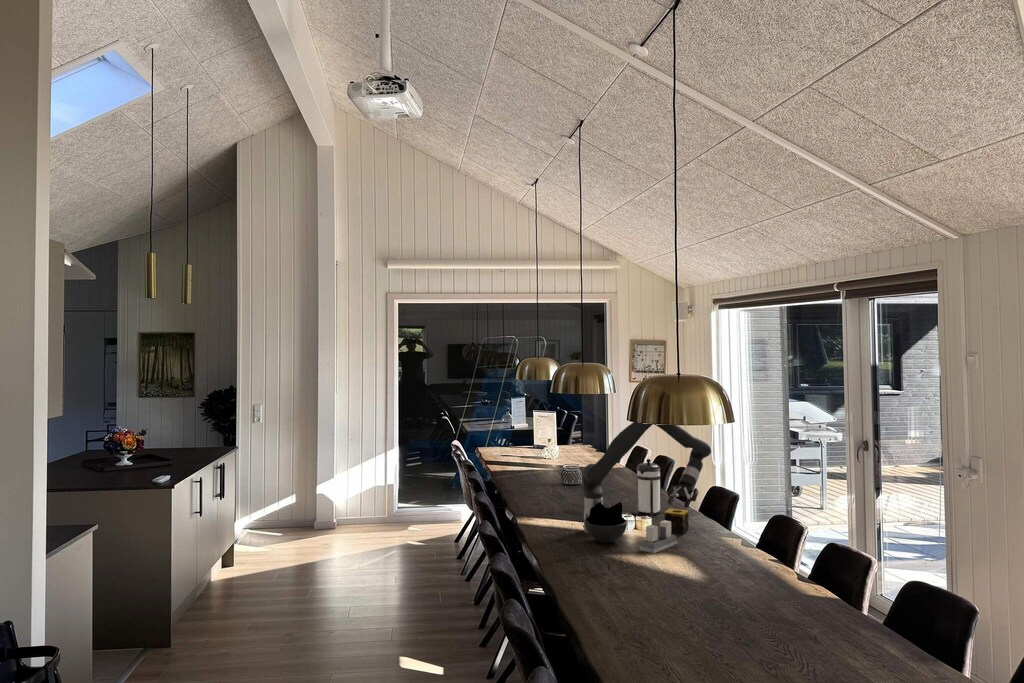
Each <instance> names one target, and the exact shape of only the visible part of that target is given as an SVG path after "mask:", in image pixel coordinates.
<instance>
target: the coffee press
mask: <svg viewBox="0 0 1024 683" xmlns="http://www.w3.org/2000/svg"><path fill="white" fill-rule="evenodd" d="M636 471H637V472H636V473H637V476H636V478H637V480H636V482H637V483H636V484H637V485H636V486H637V488H636V491H637V494H636V496H637V497H636V498H637V502H636V504H637V505H636V506H637V508H636V509H635V511H634V512H635V514H636V515H638V514H639V513H646V514H650V517H651V516H652V517H654V513H660V514H663V510H662V509H661V497H662V476H661V472H660V471H661V468H660V465H658V464H657V463H654V462H651V459H650V458H647V459H646V462H641V463H639V464H638V465H637V467H636ZM652 517H651V518H652Z"/></svg>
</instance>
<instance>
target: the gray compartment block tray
mask: <svg viewBox="0 0 1024 683" xmlns="http://www.w3.org/2000/svg"><path fill="white" fill-rule="evenodd" d="M658 528H659V527H658V525H654V524H649V525H646V526H645V539H643V540H641V541H640V546H639V551H642V552H647V553H651V554H657V553H658V552H660V551H664V550H665V549H669V548H671V547H673V545H674V546H675V544H676V545H678V540H677V535H676V534H671V537H669V538H663V537H660V533H659V530H658ZM658 533H659V534H658Z"/></svg>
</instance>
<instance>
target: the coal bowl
mask: <svg viewBox="0 0 1024 683" xmlns="http://www.w3.org/2000/svg"><path fill="white" fill-rule="evenodd" d="M584 524H585V528H586V530H587V532H588V533H587V534H588V535H589V536H590V538H593V540H595V541H596V542H599V543H603V544H604V543H605V544H609V543H613V542H615V541H618V540H619V539H620V538H622V536H623V535H624V534H625V532H626V529H627V526H628V521H627V519H625V518H623V504H622V502H621V501H619V502H617V503H615V504H613V505H612V506H610V507H606V506H604V503H603V504H602V503H601V502H599V503H597V504H596V505H595V506H594V507H592V508H591V509H590V515H589V517H588V518H586V519H585V520H584V519H583V525H584Z"/></svg>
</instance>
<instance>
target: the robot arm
mask: <svg viewBox="0 0 1024 683" xmlns="http://www.w3.org/2000/svg"><path fill="white" fill-rule="evenodd" d="M653 425H655V427H657V428H659V429H661V431H664V433H666V434H667V435H669V436H670V437H671V438H672V439H673V440H674V441H676V443H678V444H680V445H681V446H682V447H683V448H685V449H691V451H690V453H689V457H688V458H689V459H688V463H687V464H686V467H685V469H684V470H683V471H682V474H681V477H680V478H679V482H678V485H674V484H671V486H670V487H669V488H668V489H669V490H668V491H667V493H666V494H667V496H668V500H667V503H668V505H669V506H672V504H673V502H674V501H675V499H676V498H678V497H684V498H686V497H687V499H685V502H684V504H683V507H684V508H685V509H688V508H689V506H690V505H691V502H694V503H695V502H696V501H697V498H698V495H699V490H698V489H697V487H696V488H695V486H696V484H697V482H698V480H699V478H700V474H701V471H702V469H703V466H704V463H703V460H704V459H705V458H707V457H709V456H710V455H711V453H712V448H711V446H710V445H709V444H708V443H707V442H705V441H704V440H702V439H700V438H697V437H695V436H693V434H691V433H690V432H688V431H687V430H686V429H684V428H683V427H681V426H680V425H679V424H677V425H656V424H643V423H638V422H634V421H632V423H630V424H629V425H627V427H625V428H624V429H622V430H621V431H620V432H619V433H618V434H617V435H616V436H615V438H614V439H612V441H611V442H610V444H609V445H608V447H607V449H606V450H605V452H604V454H603V455H602V457H601V458H600V459H599V460H598V461H597V462H596V463H589V464H587V465H586V466H585V467H584V469H583V472H582V473H583V474H582V480H583V481H582V483H583V484H582V485H583V493H584V499H583V501H584V503H583V504H584V511H583V521H584V520H585V519H586V518H588V517H589V515H590V509H591V508H592V507H594V506H595V505H596V504H597V503H599V502H601V503H602V504H603V505H604V491H603V488H602V482H603V481H604V479H605V478H606V477H607V476H608V474H609V473H610V472H611V470H612V469H613V468H614V467H615V465H617V463H619V462H620V460H621V459H623V457H624V456H625V455H627V453H629V451H630V450H632V448H633V447H634V446H635V444H636V443H638V441H639V440H640V438H641V437H642V436H643V435H644V434H645V432H647V430H648V429H650V428H651V427H652V426H653ZM583 531H584V533H585V534H589V533H588V532H587V530H586V528H585V524H584V523H583Z"/></svg>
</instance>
